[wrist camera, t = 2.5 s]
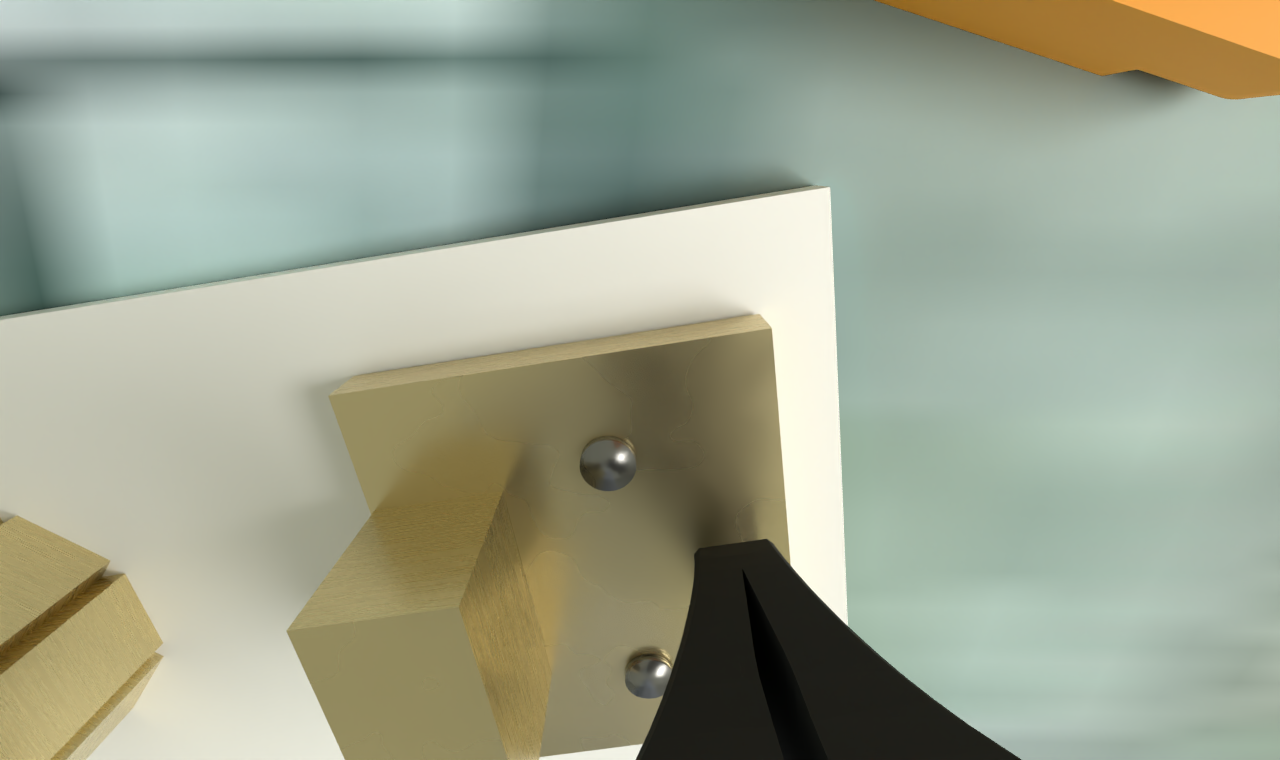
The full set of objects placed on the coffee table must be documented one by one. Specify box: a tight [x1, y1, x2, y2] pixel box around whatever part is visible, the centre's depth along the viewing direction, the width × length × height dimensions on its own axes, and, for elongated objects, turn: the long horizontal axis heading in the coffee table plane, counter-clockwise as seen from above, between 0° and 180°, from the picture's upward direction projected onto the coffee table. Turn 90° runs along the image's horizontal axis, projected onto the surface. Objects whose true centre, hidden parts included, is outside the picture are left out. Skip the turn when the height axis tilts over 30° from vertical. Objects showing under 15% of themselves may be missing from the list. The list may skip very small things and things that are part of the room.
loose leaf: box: [287, 314, 791, 760], centre depth 11 cm, size 9×8×4 cm
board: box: [0, 185, 848, 760], centre depth 14 cm, size 15×28×1 cm, turn 99°
